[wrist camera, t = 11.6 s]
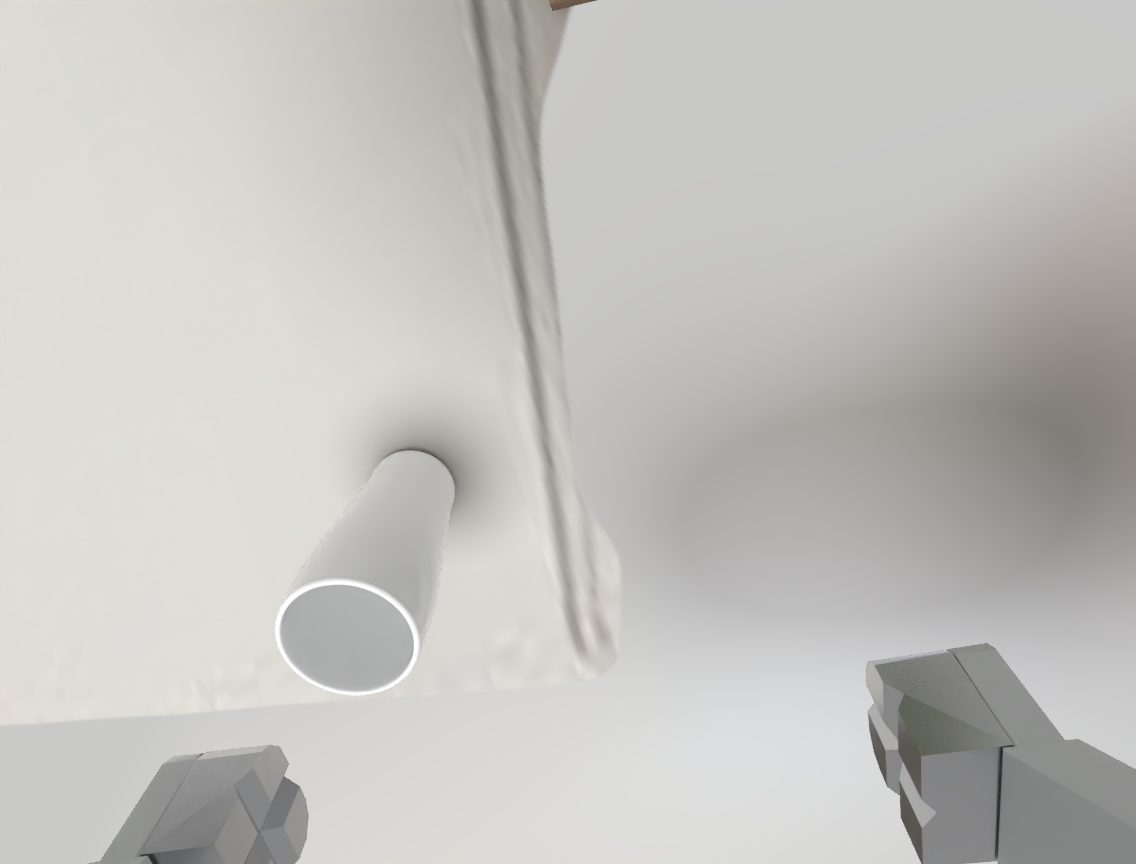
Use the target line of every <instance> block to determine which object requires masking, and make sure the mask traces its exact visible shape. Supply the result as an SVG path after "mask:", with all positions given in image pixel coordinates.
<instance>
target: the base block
mask: <svg viewBox="0 0 1136 864" xmlns="http://www.w3.org/2000/svg"><path fill="white" fill-rule="evenodd" d="M549 1H550V5H551V8H552V11H553V10H557V9H561V8H566V7H570V6H574V5H578V4H583V3H587V2H591V1H595V0H549Z"/></svg>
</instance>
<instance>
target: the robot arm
mask: <svg viewBox="0 0 1136 864" xmlns="http://www.w3.org/2000/svg"><path fill="white" fill-rule="evenodd" d="M866 684H867V687H868V689H869V691H870V694H871V695H872V698H873V700H874V702H875V703H874V704H873V705H872V706H871V708H870V709H869V710H868V718H869V730H870V735H871V740H872V745H873V749H874V753H875V756H876V759H877V762H878V765H879V768H880V771H881V773H882V775H883V778H884V780H885V782H886V785H887V787H888V788H890V789H891V790H893V791H894V792H895V793H897V794H898V795H900V806H901V807H900V808H901V819H902V821H903V823H904V826H905V828H906V830H907V832H908V835H909V837H910V839H911V841H912V844H913V846H914V848H915V850H916V852H917V855H918V857H919V859H920V861H921V863H922V864H966V863H979V862H991V861H998V864H1136V769H1134V768H1132V767H1130V766H1128V765H1126V764H1124V763H1123V762H1121V761H1119V760H1117V759H1115V758H1113V757H1111V756H1109V755H1107V754H1106V753H1104V752H1102V751H1100V750H1098V749H1096V748H1094V747H1092V746H1090V745H1088V744H1087V743H1085V742H1083V741H1081V740H1079V739H1075V740H1064V738H1063V737H1062V736H1061V734H1060V733H1059V732H1058V731H1057V729H1056V728H1055V726H1054V725H1053V724H1052V723H1051V721H1050V720H1049V719H1048V717H1047V716H1046V715H1045V713H1044V712H1043V711H1042V710H1041V708H1040V707H1039V705H1038V704H1037V703H1036V702H1035V700H1034V699H1033V697H1032V696H1031V695H1030V694H1029V692H1028V691H1027V690H1026V688H1025V687H1024V686H1023V684H1022V683H1021V682H1020V680H1019V679H1018V678H1017V677H1016V675H1015V674H1014V673H1013V671H1012V670H1011V669H1010V667H1009V666H1008V665H1007V663H1006V662H1005V661H1004V660H1003V658H1002V657H1001V655H1000V654H999V653H998V651H997V650H996V649H995V648H994V647H992V646H991V645H989V644H987V643H986V644H979V645H973V646H966V647H960V648H953V649H947V650H946V651H936V652H929V653H922V654H915V655H909V656H902V657H895V658H888V659H882V660H876V661H868V662H867V667H866ZM288 764H289V763H288V761H287V759H286V757H285V756H284V754H283V752H282V750H281V748H280V747H278V746H273V745H265V746H257V747H248V748H240V749H230V750H221V751H212V752H206V753H202V754H193V755H183V756H174V757H172V758H171V759H169V760H168V761H166V762H165V763H164V764H162V766H161V768H160V769H159V771H158V772H157V774H156V775H155V777H154V779H153V780H152V781H151V783H150V784H149V786H148V788H147V789H146V791H145V792H144V794H143V795H142V797H141V798H140V800H139V802H138V803H137V805H136V806H135V808H134V810H133V811H132V812H131V814H130V816H129V817H128V819H127V820H126V822H125V823H124V825H123V826H122V828H121V830H120V831H119V833H118V834H117V836H116V837H115V839H114V840H113V842H112V844H111V845H110V847H109V848H108V850H107V851H106V853H105V854H104V856H103V857H102V859H101V861H100V862H94V863H89V864H295V863H296V862H297V861H298V859H299V858H300V855H301V852H302V850H303V847H304V844H305V841H306V838H307V826H308V811H307V805H306V799H305V797H304V795H303V793H302V790H301V788H300V786H298V785H297V784H295V783H293V782H292V781H291V780H289V779H287V778H286V777H284V775H285V772H286V770H287V767H288Z"/></svg>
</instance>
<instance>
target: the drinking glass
mask: <svg viewBox="0 0 1136 864" xmlns="http://www.w3.org/2000/svg"><path fill="white" fill-rule="evenodd" d="M454 500H455V484H454V481H453V478H452V475H451V474H450V472H449V470H448V469H447V468H446V466H445V465H444V464H443V463H442V462H441V461H439V460H438V459H437V458H435V457H433V456H432V455H429V454H427V453H424V452H420V451H414V450H406V451H400V452H396V453H393V454H391V455H389V456H387V457H386V458H384V459H383V460H382V461H381V462H380V463H379V464H378V465H377V466H376V468H375V469H374V471H373V472H372V474H371V476H370V478H369V479H368V481H367V482H366V483H365V485H364V486H363V487H362V489H361V490H360V491H359V493H358V494H357V495H356V496H355V498H354V499H353V500H352V501H351V503H350V504H349V505H348V506H347V508H346V509H345V510H344V512H343V513H342V514H341V515H340V516H339V518H338V519H337V520H336V521H335V523H334V524H333V525H332V526H331V528H330V529H329V530H328V531H327V533H326V534H325V535H324V536H323V538H322V539H321V540H320V542H319V543H318V544H317V545H316V547H315V548H314V549H313V551H312V552H311V554H310V555H309V557H308V558H307V560H306V561H305V563H304V564H303V566H302V567H301V569H300V571H299V572H298V574H297V576H296V578H295V579H294V581H293V583H292V585H291V587H290V589H289V590H288V592H287V594H286V596H285V599H284V601H283V603H282V605H281V606H280V608H279V610H278V613H277V616H276V620H275V638H276V642H277V645H278V648H279V650H280V653H281V654H282V656H283V658H284V659H285V661H286V662H287V663H288V665H289V666H290V667H291V668H292V669H293V670H294V671H295V672H296V673H297V674H298V675H300V676H301V677H302V678H304V679H305V680H307V681H308V682H310V683H312V684H313V685H315V686H317V687H320V688H322V689H325V690H328V691H331V692H335V693H339V694H345V695H368V694H374V693H378V692H381V691H384V690H387V689H389V688H391V687H393V686H395V685H397V684H398V683H399V682H401V681H402V680H403V679H404V678H406V676H407V675H408V674H409V673H410V672H411V671H412V669H413V668H414V666H415V664H416V662H417V660H418V657H419V654H420V651H421V649H422V646H423V643H424V641H425V638H426V635H427V632H428V629H429V626H430V623H431V619H432V616H433V612H434V608H435V604H436V599H437V594H438V589H439V583H440V576H441V569H442V563H443V556H444V549H445V543H446V537H447V530H448V524H449V519H450V513H451V510H452V507H453V503H454Z"/></svg>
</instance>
